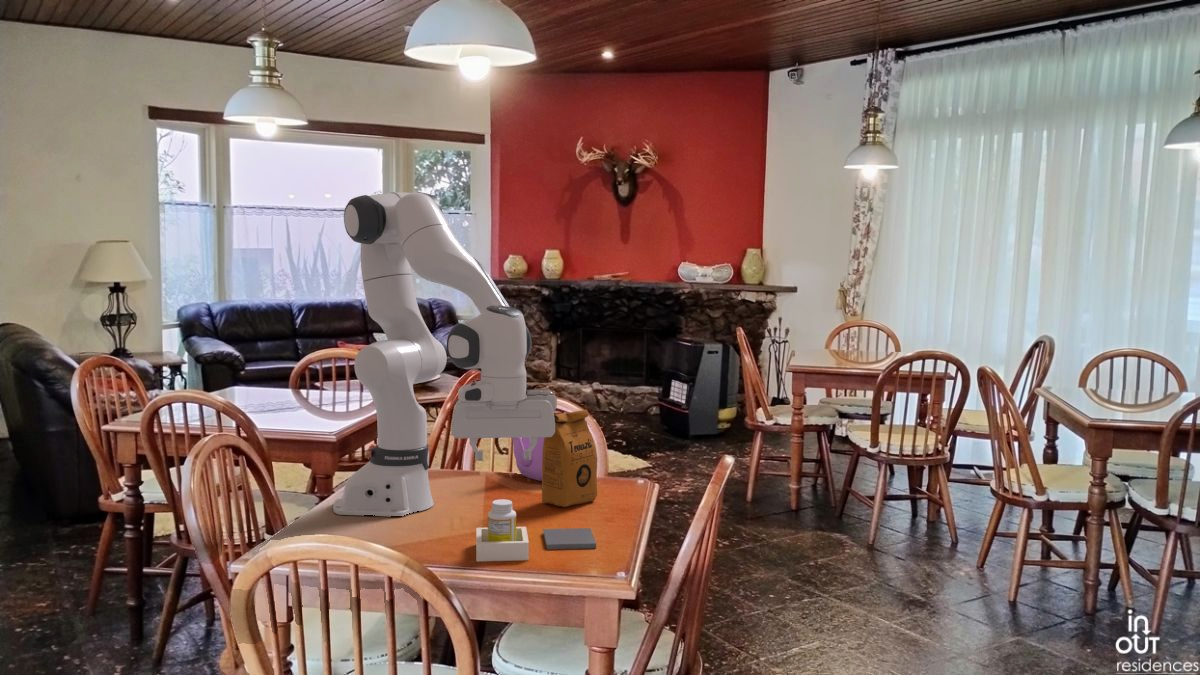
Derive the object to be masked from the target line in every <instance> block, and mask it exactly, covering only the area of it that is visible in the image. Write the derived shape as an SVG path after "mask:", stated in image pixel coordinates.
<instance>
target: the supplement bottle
mask: <svg viewBox="0 0 1200 675" xmlns="http://www.w3.org/2000/svg"><path fill="white" fill-rule="evenodd" d="M516 527H517V512H516V511H515V510H514V509H513V502H512V500H510V499H504V498H503V499H495V500H493V501H492V502H491V510H490V511H489V512H488V514H487V528H488V542H503V541H516Z"/></svg>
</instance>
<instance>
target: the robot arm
mask: <svg viewBox="0 0 1200 675" xmlns="http://www.w3.org/2000/svg"><path fill="white" fill-rule="evenodd" d="M343 224H344V228H345V232H346V233H347V235H348V236H349V238H351V240H352V241H353V242H355V243H359V244H360V270H361V277H362V278H361V279H362V285H363V289H364V290H363V292H364V295H365V296H364V297H365V301H366V307H367V312H368V316H369V317H370V318H371V319H372V320H373V321H374V322H375V323H376V324H378V326H380V327H381V329H382V330H383V333H384V335H385V336H386V338H387V339H383V340H378V341H375V342H373V343H370V344H368V345H366V346H364V347H362V348H361V349H359V351H358V352H357V354H356V356H355V359H354V366H353V368H354V372H355V376H356V378H357V379H358V381H359V383H361V385H362V386H363V387H365V388H366V389H367V390H368V392H369V394H370V395H371V398H372V401H373V404H374V407H375V411H376V420H377V423H376V424H377V444H376V443H371V444H370V445H369V446H368V449H367V450H368V461H369V462H367V463H365V465H363V466H362V467H360V468H359V469H358V470H357V471H355V472H354V473H353V474H352V475H351V476H349V478H348V479H347V480H346V482H345V483H344V484H345V485H344V488H343V495H342V496H339V497H338V498H336V499H335V500H334V502H333V504H332V505H333V506H332V511H333V513H335V514H336V515H343V516H344V515H345V516H364V515H373V517H391V516H402V517H404V515H405V516H407V515H406V514H408V515H410V514H414V513H418V512H417V511H419V512H423V511H425V510H426V511H427V510H428V509H430V508H432V507H433V506H434V503H435V502H434V500H433V497H432V492H431V486H430V481H429V473H428V471H429V470H428V469H429V466H430V449H429V444H428V443H427V442H428V440H427V437H428V436H427V434H428V433H427V430H428V428H427V426H428V425H427V424H428V422H427V421H428V419H427V418H428V417H427V416H428V414H427V412H426V409H425V408H424V407H423V406H422V404H420V403H419V402H418V401H417V398H416V395H415V392H414V385H416V384H419V383H420V384H421V383H425V382H428V381H430V380H432V379H434V378H436V377H437V376H438V375H440V374H441V373H442V372H443V371H444V370H445V368H446V365H447V359H448V358H449V360H450V361H451V362H452V363H453V365H454V366H456V367H457V368H459V369H464V370H474V369H480V370H481V372H480V380H477V381H474V382H471V383H470V382H469V383H467V384H463V385H461V386H460V387H459V388H458V390H457V398H458V400H457V401H456V403H455V404H454V407H453V412H452V419H451V426H450V427H451V431H450V432H451V433H450V434H451V436H453V438H454V439H469V445H470V446H471V449H472V450H473V452H474V453H475V454H474V460H475V462H478V461H479V462H481V461H484V457H483V456H484V452H483V449H479V448H478V446H477V445H476V444H478V439H500V438H501V439H511V438H521V439H522V438H526V437H529V440H530V443H531V444H530V446H529V448H528V449H526V450H524V455H523V457H524V460H531V451H532V450H533V449H534V447H535V446H536V444H537V437H552V436H553V435H554V433H555V419H554V415H555V414H554V412H555V411H556V409H557V406H558V405H557V404H558V403H557V402H558V398H557V396H556V394H555V393H554V392H552V391H550V390H549V389H541V390H540V389H527V370H526V366H525V363H526V362H525V361H526V359H527V358H528V357H529V354H530V353H531V350H532V345H533V339H532V335H531V333H530V329H529V328H528V327H527V324H526V321H525V317H524V314H523V312H522V311H520V310H519V309H517V308H515V307H512V306H510V305H509V303H508V302H507V300H506V299H505V298H504V296H503V294H502V293H501V291H500V290H499V287H497V285H496V283H495V281H494V280H493V279H492V277H491V276H490V274H489V273H488V272H487V270H486V269H485V267H484V266H483V265H482V263H481V262H480V261H478V260H477V259H476V257H473V256H472V255H471V254H470V253H469V252H468V250H466V248H464V247H463V245H462V244H461V242H460V241H459V239H458V238H457V237H456V235H455V233H454V231H453V229H452V228H451V225H450V224H449V222H448V219H447V218H446V216H445V215H444V213H443V209H442V206H441V203H440V202H439V200H438V199H437V197H436V196H435V195H433V194H429V193H427V192H421V191H420V192H419V191H418V192H406V191H405V192H404V191H396V192H395V191H393V192H392V191H391V192H389V193H380V194H377V193H376V194H373V195H367V194H365V195H364V194H363V195H359V196H356V197H353V198H351V199H350V200H349V201H348V202H347V204H346V205H345V207H344V211H343ZM412 270H413V271H414V273H416V274H417V276H419V277H420V278H422V279H423V280H426V281H428V282H431V283H434V284H439V285H443V286H446V287H449V288H452V289H455V290H457V291H460V292H461V293H462V294H465V295H466V296H467V297H468V298H469V299H470V300H471V301H472V302H473V304H474V306H475V307H476V308H477V311H478V312H479V314H478V315H477V316H476V317H475V316H474V317H473V318H471V319H467V320H465V321H462V322H459V323H458V322H457V323H456V324H454V325H453V326H452V328H451V329H450V330H449V333H448V335H447V339H446V348H445V346H444V345H443V344H442V342H441V341H439V340H438V339H436V338H435V337H434V335H433V334H432V333H431V331H430V329H429V328H428V326H427V325H426V322H425V319H424V317H423V316H422V313H421V311H420V308H419V305H418V301H417V296H416V290H415V286H414V285H415V284H414V280H413V275H412V274H413V273H412ZM447 355H448V356H447ZM447 357H448V358H447ZM413 512H414V513H413ZM409 513H410V514H409ZM374 515H375V516H374Z"/></svg>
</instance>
